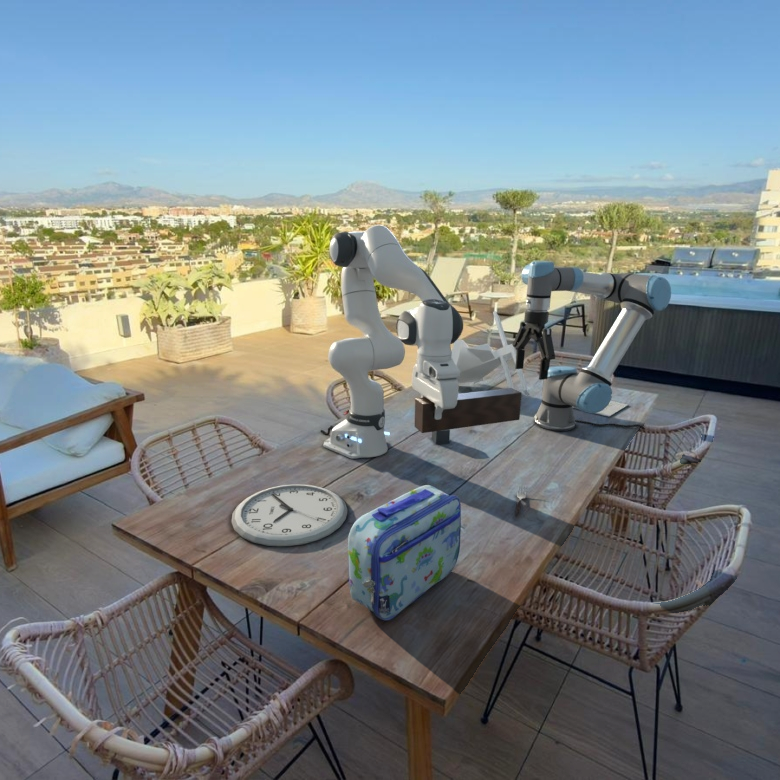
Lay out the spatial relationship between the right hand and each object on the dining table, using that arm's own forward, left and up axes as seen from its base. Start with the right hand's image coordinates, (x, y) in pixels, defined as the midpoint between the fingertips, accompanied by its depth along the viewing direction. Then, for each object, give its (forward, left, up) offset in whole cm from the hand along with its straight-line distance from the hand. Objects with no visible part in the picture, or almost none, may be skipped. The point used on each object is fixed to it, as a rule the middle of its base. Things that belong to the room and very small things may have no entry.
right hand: (530, 373), depth 175 cm
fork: (+6, +41, -27) cm, 49 cm away
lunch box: (+34, +81, -27) cm, 92 cm away
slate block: (+29, -1, -27) cm, 39 cm away
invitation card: (-39, -50, -27) cm, 69 cm away
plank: (+21, +37, -5) cm, 43 cm away
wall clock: (+67, +55, -27) cm, 91 cm away
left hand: (+31, +43, -1) cm, 53 cm away
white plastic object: (+12, -62, -27) cm, 69 cm away
